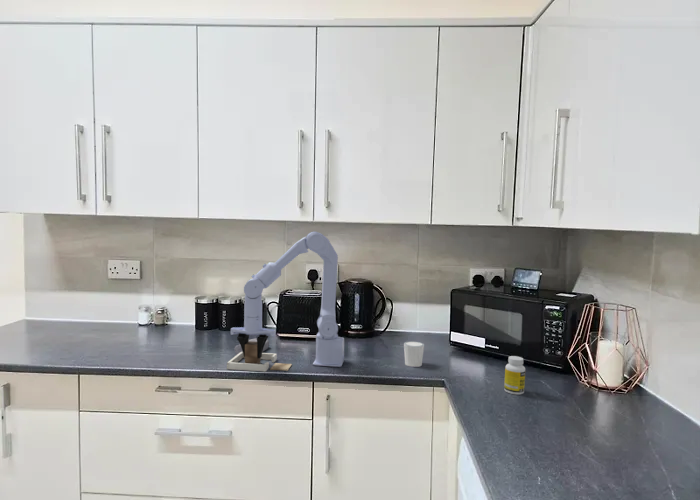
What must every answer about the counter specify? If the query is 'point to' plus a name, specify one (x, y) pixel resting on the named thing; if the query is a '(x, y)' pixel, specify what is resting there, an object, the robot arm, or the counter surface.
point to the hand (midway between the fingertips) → (252, 356)
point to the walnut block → (251, 353)
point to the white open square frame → (251, 367)
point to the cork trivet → (281, 366)
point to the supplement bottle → (514, 376)
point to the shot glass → (413, 353)
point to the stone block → (266, 346)
